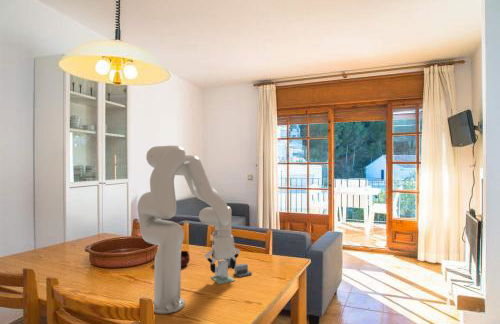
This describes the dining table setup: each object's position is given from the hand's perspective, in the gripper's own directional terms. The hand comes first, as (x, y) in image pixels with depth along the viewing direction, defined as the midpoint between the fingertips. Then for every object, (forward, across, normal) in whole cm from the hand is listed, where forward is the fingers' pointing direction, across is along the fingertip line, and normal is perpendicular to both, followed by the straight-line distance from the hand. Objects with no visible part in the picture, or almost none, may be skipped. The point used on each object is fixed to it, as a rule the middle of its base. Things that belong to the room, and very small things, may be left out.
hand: (222, 270), depth 140 cm
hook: (+4, 0, +2) cm, 4 cm away
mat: (+4, 0, 0) cm, 4 cm away
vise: (+4, +11, +9) cm, 15 cm away
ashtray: (+5, -12, +32) cm, 35 cm away
